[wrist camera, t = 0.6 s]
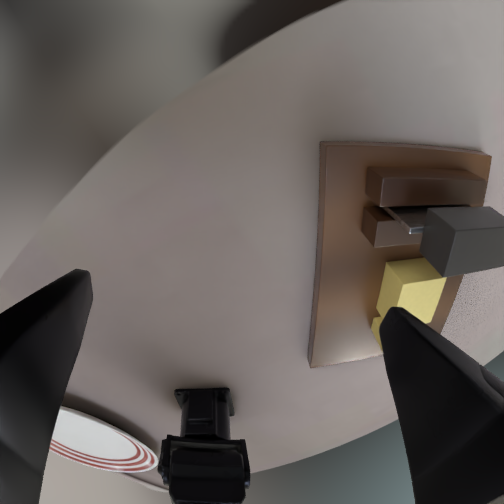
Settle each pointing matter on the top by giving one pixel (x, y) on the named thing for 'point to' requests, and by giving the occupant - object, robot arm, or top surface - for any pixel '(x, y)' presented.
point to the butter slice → (377, 329)
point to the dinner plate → (99, 444)
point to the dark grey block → (455, 236)
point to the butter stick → (411, 288)
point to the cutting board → (355, 251)
